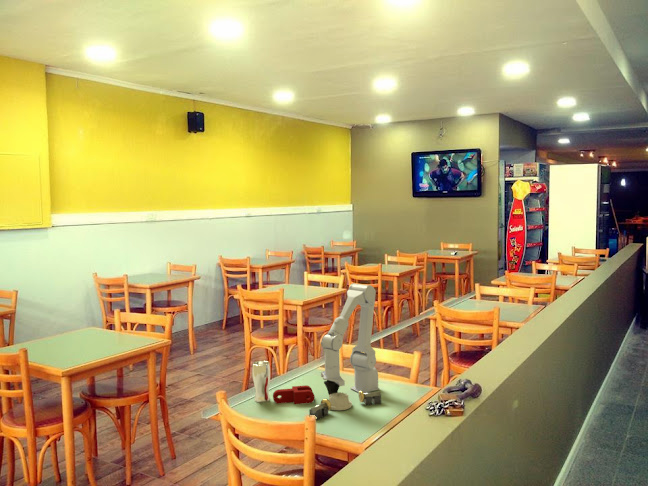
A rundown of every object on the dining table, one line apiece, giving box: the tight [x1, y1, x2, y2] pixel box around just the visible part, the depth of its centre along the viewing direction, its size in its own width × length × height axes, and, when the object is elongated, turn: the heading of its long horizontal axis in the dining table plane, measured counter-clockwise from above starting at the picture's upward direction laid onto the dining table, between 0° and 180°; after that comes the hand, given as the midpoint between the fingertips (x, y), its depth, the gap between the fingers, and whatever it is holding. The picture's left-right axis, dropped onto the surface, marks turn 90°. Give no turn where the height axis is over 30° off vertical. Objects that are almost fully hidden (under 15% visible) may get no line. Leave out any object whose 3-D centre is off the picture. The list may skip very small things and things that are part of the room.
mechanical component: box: [328, 391, 353, 411], centre depth 224 cm, size 10×4×10 cm
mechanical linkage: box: [272, 385, 315, 405], centre depth 231 cm, size 16×7×5 cm, turn 99°
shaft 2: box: [358, 391, 382, 406], centre depth 227 cm, size 8×4×5 cm, turn 101°
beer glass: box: [252, 360, 271, 403], centre depth 233 cm, size 7×7×15 cm
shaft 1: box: [308, 398, 331, 421], centre depth 215 cm, size 8×4×5 cm, turn 141°
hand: (332, 399), depth 229 cm, fingers closed
